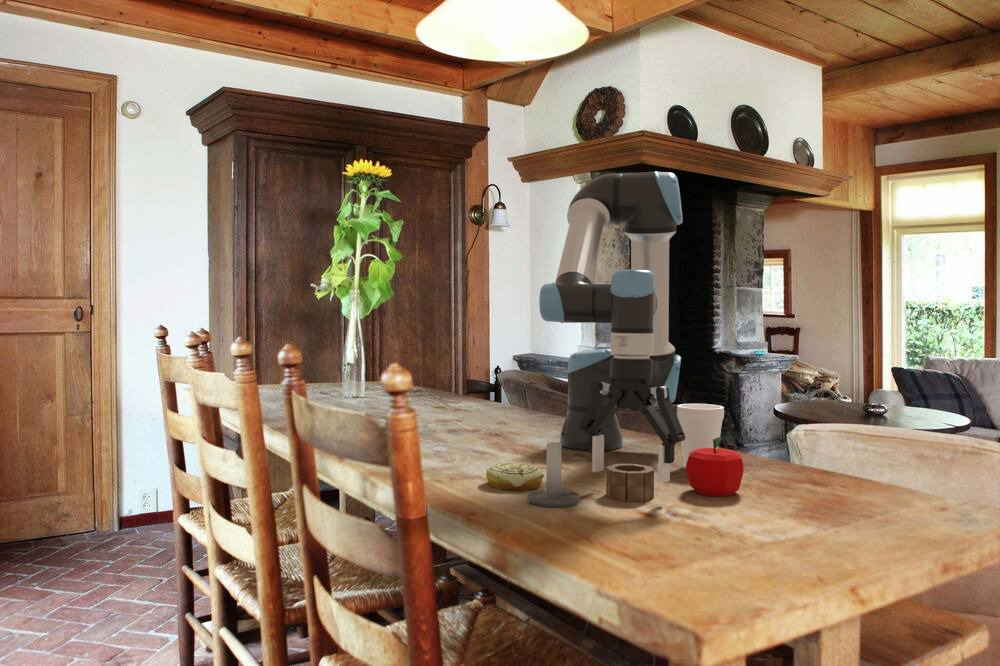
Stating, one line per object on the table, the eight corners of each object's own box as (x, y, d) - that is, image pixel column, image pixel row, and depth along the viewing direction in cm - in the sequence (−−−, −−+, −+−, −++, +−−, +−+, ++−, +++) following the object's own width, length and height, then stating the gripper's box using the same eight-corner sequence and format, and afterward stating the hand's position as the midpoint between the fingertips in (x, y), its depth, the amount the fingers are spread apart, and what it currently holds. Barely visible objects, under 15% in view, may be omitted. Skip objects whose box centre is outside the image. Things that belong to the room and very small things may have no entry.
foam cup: (702, 474, 161) (703, 410, 161) (667, 467, 169) (668, 405, 168) (731, 469, 167) (733, 407, 166) (697, 462, 174) (697, 402, 174)
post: (548, 492, 145) (549, 437, 145) (589, 500, 140) (590, 443, 139) (517, 501, 139) (517, 444, 138) (559, 510, 133) (559, 450, 132)
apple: (731, 502, 139) (732, 445, 139) (675, 493, 145) (675, 438, 145) (753, 491, 147) (754, 437, 147) (698, 483, 154) (699, 431, 153)
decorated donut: (522, 495, 144) (523, 474, 144) (475, 487, 150) (475, 467, 150) (552, 484, 153) (553, 465, 152) (506, 477, 159) (506, 458, 158)
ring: (622, 488, 149) (622, 462, 148) (660, 495, 143) (661, 468, 143) (598, 496, 143) (598, 468, 142) (637, 503, 137) (638, 475, 137)
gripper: (562, 354, 147) (560, 469, 148) (685, 361, 131) (683, 489, 132) (585, 353, 153) (584, 464, 153) (706, 359, 137) (704, 482, 137)
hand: (629, 476), depth 143 cm, fingers open, 13 cm apart
